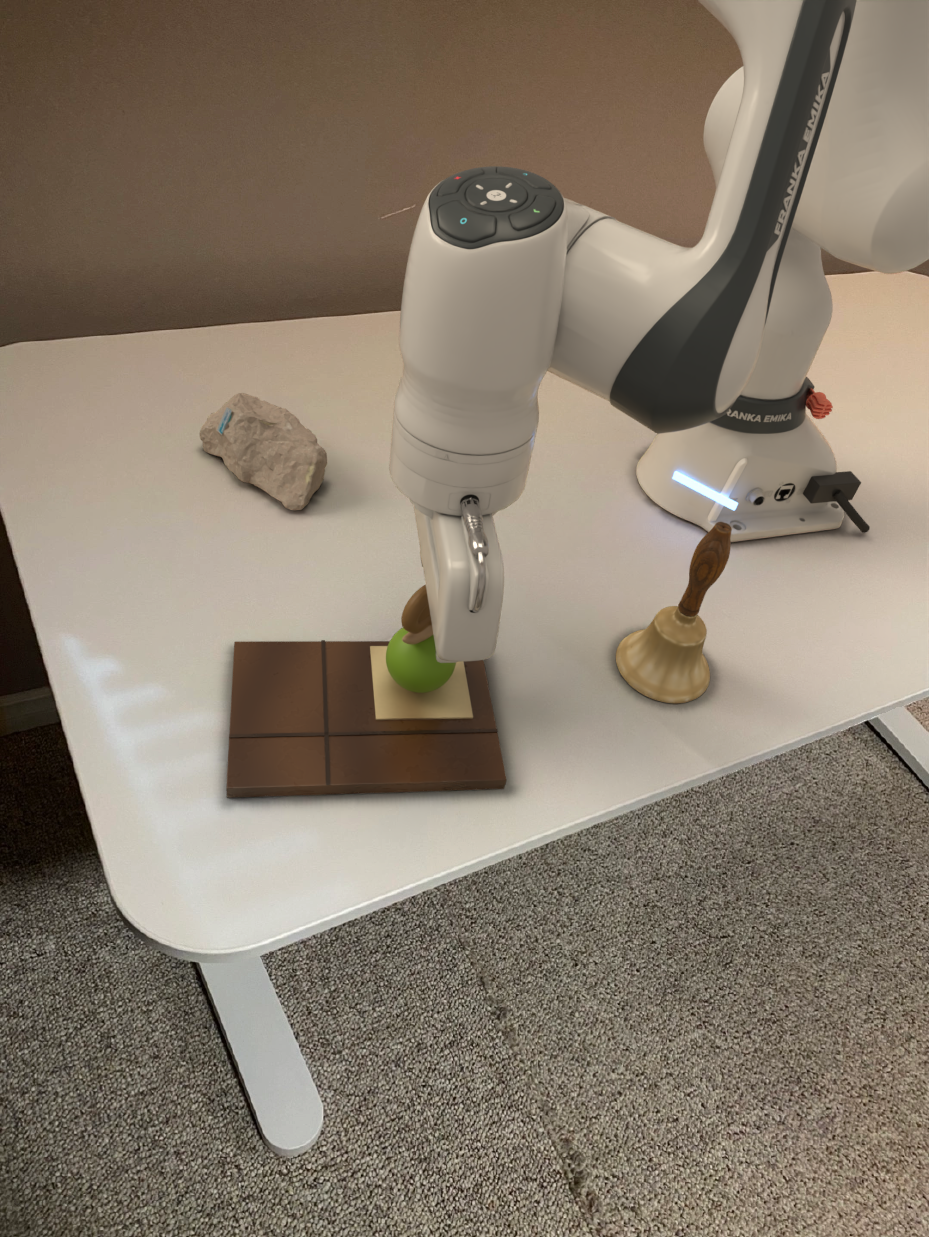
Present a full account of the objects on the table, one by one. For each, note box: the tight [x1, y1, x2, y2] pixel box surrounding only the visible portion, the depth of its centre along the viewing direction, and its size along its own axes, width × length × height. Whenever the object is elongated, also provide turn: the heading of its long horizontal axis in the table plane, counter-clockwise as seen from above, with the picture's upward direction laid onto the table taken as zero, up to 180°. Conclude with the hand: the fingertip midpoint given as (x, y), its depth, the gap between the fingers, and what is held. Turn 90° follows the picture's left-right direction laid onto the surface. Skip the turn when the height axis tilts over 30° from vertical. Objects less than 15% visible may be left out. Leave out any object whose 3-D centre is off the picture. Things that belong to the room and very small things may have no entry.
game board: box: [225, 639, 507, 799], centre depth 72 cm, size 20×14×1 cm
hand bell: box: [615, 522, 732, 705], centre depth 75 cm, size 8×8×16 cm
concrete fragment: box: [199, 392, 328, 511], centre depth 90 cm, size 7×14×6 cm, turn 47°
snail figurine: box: [386, 584, 456, 693], centre depth 70 cm, size 5×6×12 cm
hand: (439, 607), depth 68 cm, fingers open, 8 cm apart
